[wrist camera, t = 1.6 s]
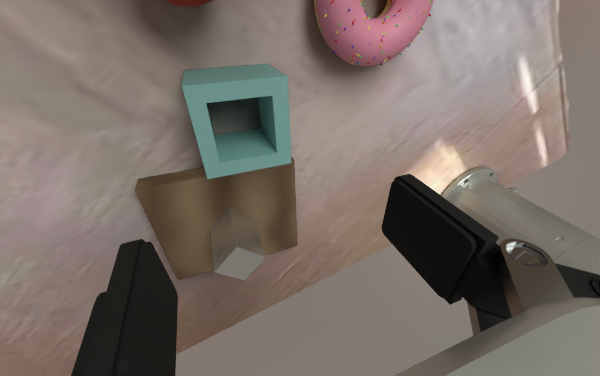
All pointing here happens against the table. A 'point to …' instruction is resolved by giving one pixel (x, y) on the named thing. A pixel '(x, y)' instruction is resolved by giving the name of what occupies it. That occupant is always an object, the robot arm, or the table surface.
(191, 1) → the onion
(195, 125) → the collar
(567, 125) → the table surface
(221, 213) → the post board
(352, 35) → the doughnut
